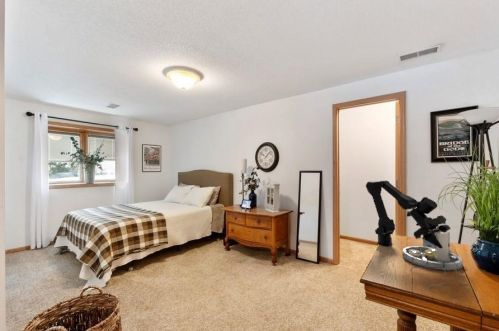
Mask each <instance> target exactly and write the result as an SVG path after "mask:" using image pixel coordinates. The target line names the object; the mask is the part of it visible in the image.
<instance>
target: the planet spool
mask: <svg viewBox="0 0 499 331" xmlns="http://www.w3.org/2000/svg"><path fill="white" fill-rule="evenodd" d="M436 238H437V240H438V241H439V243H440V244H441V245H442V247H443V248H441V249H440V248H439V247H437V246H436V256H435V260H437V261H440V262H445V263H449V262H450V258H449V254H448V233H445V232H436Z"/></svg>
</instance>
